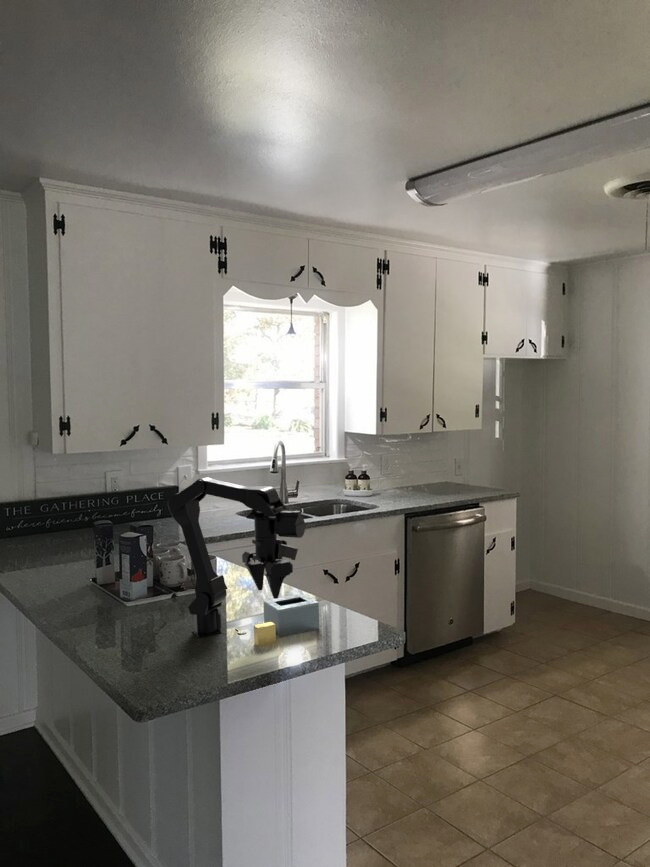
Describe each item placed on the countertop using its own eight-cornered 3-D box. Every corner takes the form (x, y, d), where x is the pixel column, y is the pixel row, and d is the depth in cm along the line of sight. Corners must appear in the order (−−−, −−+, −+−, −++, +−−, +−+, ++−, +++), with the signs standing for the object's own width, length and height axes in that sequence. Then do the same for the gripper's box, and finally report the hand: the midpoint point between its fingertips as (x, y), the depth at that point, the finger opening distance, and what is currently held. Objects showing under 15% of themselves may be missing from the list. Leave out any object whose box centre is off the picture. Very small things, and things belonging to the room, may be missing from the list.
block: (258, 646, 189) (257, 627, 188) (254, 644, 191) (253, 625, 191) (275, 643, 191) (275, 624, 191) (272, 640, 193) (271, 621, 193)
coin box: (279, 637, 195) (278, 610, 195) (264, 626, 204) (263, 600, 203) (319, 628, 201) (318, 602, 200) (303, 618, 210) (302, 593, 209)
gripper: (310, 537, 188) (312, 597, 189) (277, 526, 204) (279, 581, 205) (271, 543, 182) (273, 605, 183) (240, 531, 198) (242, 588, 199)
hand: (267, 594), depth 193 cm, fingers open, 9 cm apart
